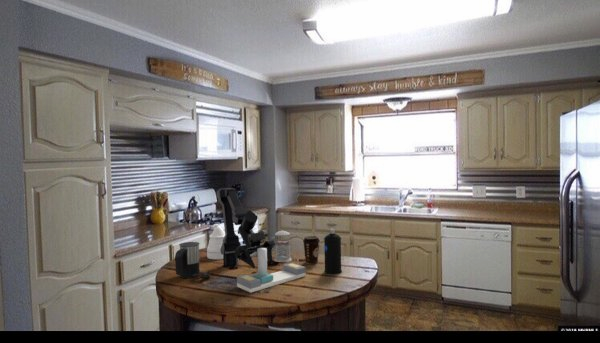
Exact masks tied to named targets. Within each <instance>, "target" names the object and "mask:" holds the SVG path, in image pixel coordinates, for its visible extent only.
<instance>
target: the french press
mask: <svg viewBox="0 0 600 343" xmlns="http://www.w3.org/2000/svg"><path fill="white" fill-rule="evenodd" d="M279 215H280V216H284V215H285V214H284V213H283V212H280V213H279ZM290 235H291V233H290V232H288V231H286V230H283V229H281V230H278V231H276V232H275V233H274V236H273V237H271V239H270V240H273V239H274V240H276V236H277V237H281V238H282V239H278V240H276V241H275V245H274V247H275V248H274V247H273V248H272V251H274V254H275V255H274V259H273V262H278V263H287V262H291V261H292V260H293V259H292V258H291V244H290V240H288V239H284V237H286V236H290Z"/></svg>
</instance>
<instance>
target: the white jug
mask: <svg viewBox="0 0 600 343" xmlns="http://www.w3.org/2000/svg"><path fill="white" fill-rule="evenodd" d="M212 226H213V228H214V230H213V231H212V233H211V234H210V235H209V237H208V238H209V241H208V245H207V248H206V254H207V255H206V258H207V259H208V260H223V255H222V254H221V251H220V249H221V246H222V244H223V238H224V236H225V229H223V228H222V227H221V226H219V224H217V223H216V224H213V225H212Z"/></svg>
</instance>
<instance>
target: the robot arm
mask: <svg viewBox="0 0 600 343" xmlns="http://www.w3.org/2000/svg"><path fill="white" fill-rule="evenodd" d="M216 198H217V202H218V203H219V204H220V206H221V208H222V218H223V226H224V232H225V236H224V238H223V244H222V246H221V249H220V251H221V254H222V255H223V259H222V260H223V265H222V266H221V267H222V268H235V267H236V266H238V265H239V261H240V260H241V262H244V263H246V264H247V265H248V266H250V267H252V268H253V269H255V268H256V265H255V262H254V260H253V258H251V256H250V255H251V254H250V252H252V251H257V249H258V248H267V262H269V263H270V264H273V263H274V259H273V254H272V252H273V250H272V248H273V249H274V247H275V245H276V241H275V240H274V239H272V240H271V239H268V240H266V238H267V237H268V236H269V234H268V231H267V230H266V229H262V230H260V231H259V232H254V230H253V229H254V228H255V226H256V224H257V221H258V219H259V216H258V215H257V214H256V213H255V212H253V211H252V210H251V209H250V210H248V209H247V208H244V207H243V205H242V203H241V201H240V198H239V196H238V194H237V190H236V188H233V187H232V188H231V187H229V188H227V187H226V188H219V189H218V190H217V191H216ZM235 226H238V229H237V234H239V235H240V236H241V239H242V244H243V245H241V242H240V237H239V235H237V234H236V233H235ZM263 240H265V241H264V242H263ZM262 242H263V244H262Z"/></svg>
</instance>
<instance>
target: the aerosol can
mask: <svg viewBox="0 0 600 343" xmlns="http://www.w3.org/2000/svg"><path fill="white" fill-rule="evenodd" d="M335 232H336V230H335V228H330V232H329V233H328V234H326V235H325V237H323V240H324V243H323V244H324V247H323V248H324V273H326V274H329V275H338V274H341V273H342V271H343V270H342V237H341V236H340V235H339V234H337V233H335Z"/></svg>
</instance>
